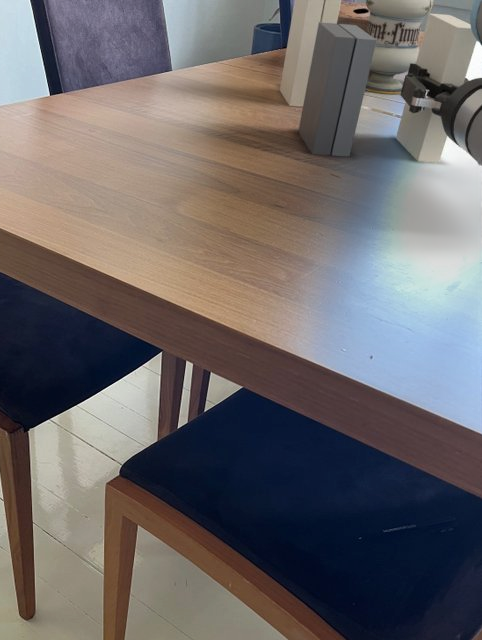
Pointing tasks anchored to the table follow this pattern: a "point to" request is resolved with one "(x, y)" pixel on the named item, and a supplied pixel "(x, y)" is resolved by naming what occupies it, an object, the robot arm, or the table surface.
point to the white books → (304, 45)
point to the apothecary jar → (394, 40)
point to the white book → (444, 67)
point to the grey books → (335, 88)
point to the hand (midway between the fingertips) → (423, 75)
